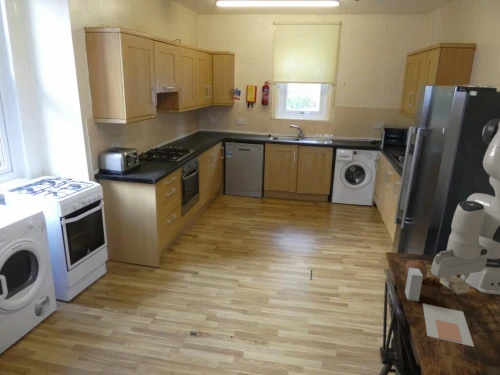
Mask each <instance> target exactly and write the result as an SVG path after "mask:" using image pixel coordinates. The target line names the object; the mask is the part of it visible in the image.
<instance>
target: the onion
mask: <svg viewBox="0 0 500 375" xmlns="http://www.w3.org/2000/svg"><path fill="white" fill-rule="evenodd" d="M403 266H404V267H403V272H404V273H405V276H406V277H407V276H408V270H409V268H416V269H420V271H421V273H422V275H423V279H422V282H423V281H424V280H425V278H426V277H427V276H428V268H427V265H426V264H425V262H424V261H423V260H421V259H414V260H412V259H411V260H408V261H407V262H406V263H405V264H404V265H403Z"/></svg>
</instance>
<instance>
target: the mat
mask: <svg viewBox="0 0 500 375" xmlns="http://www.w3.org/2000/svg"><path fill="white" fill-rule="evenodd" d="M422 307H423V314H424V316H423V317H424V322H425V330H426V334H427V337H431V338H435V339H439V340H443V341H444V340H445V341H447V342H452V343H456V344H462V345H464V346H468V347H469V346H470V347H475V345H474V341H473V339H472V336H471V332H470V330H469V326H468V323H467V320H466V316H465V314H464V311H461V310H457V309H456V310H455V309H451V308H447V307H446V308H445V307H441V306H436V305H432V304H427V303H422Z"/></svg>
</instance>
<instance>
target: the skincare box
mask: <svg viewBox="0 0 500 375" xmlns="http://www.w3.org/2000/svg"><path fill="white" fill-rule="evenodd" d="M422 279H423V275H422V273H421V271H420V269H416V268H409V270H408V276H407V275H406V282H405V283H406V284H405V290H404V295H405V296H406V299H407V300H408V301H413V302H419V301H420V294H421V291H422V285H423V284H422V283H423V281H422Z"/></svg>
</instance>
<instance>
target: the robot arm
mask: <svg viewBox="0 0 500 375" xmlns="http://www.w3.org/2000/svg"><path fill="white" fill-rule="evenodd" d="M482 141H483V142H484V143H485V144H487V145H488V146H487V149H486V150H485V154H484V156H483V161H482V166H483V169H484V171H485V172H486V174H487V175H488V176H489V179H488V180H489V184H490V186H491V187H492V188H493V190H494V191H493V192H494V196H493V195H490V194H487V193H482V192H475V193H472V194H470V195H469V196H468V197H467V199H466V200H464V201H461V202H459V203H458V204H457V206H456V209H455V211H454V213H453V217H452V221H451V225H450V226H451V227H450V228H451V232H450V234H449V235H448V236H449V237H448V241H447V246H446V250H441V251H439V252H438V253H436V255H435V257H434V258H433V261H432V264H431V268H430V273H431V274H432V275H433V276H434V277H436V278H438V279H440V278H444V280H445V282H444V285H443V286H444V287H446V286H447V287H446V288H448V287H449V286H451V284H452V282H451V281H450V279H449V278H451V276H460V277H459V278H460V279H461V280H463V281H465V282H466V283H468V284H469V285H470V288H474V289H476V290H478V291H480V292H481V293H484V294H490V295H499V296H500V118H492V119H491V120H489V121H488V122H487V123H486V124H485V126H483V129H482Z"/></svg>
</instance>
